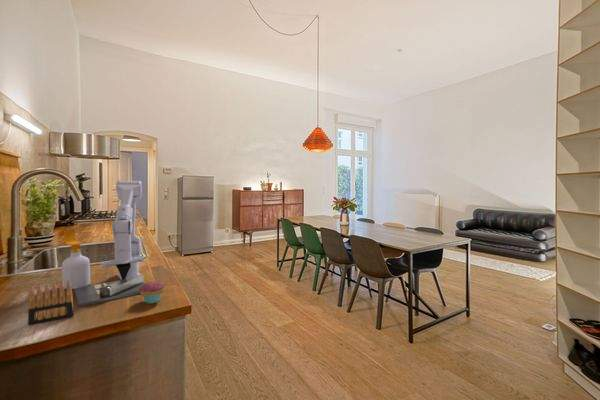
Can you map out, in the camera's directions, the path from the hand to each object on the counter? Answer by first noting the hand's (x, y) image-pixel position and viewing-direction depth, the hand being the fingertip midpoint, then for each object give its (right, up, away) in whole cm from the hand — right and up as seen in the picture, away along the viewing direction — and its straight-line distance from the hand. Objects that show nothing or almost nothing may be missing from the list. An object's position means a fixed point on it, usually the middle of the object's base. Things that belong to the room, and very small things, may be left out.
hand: (123, 281), depth 116 cm
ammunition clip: (-6, -4, -27) cm, 28 cm away
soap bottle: (-20, -2, +1) cm, 20 cm away
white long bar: (+2, -1, -5) cm, 6 cm away
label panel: (-2, -3, -4) cm, 5 cm away
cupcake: (+18, -4, -12) cm, 22 cm away
